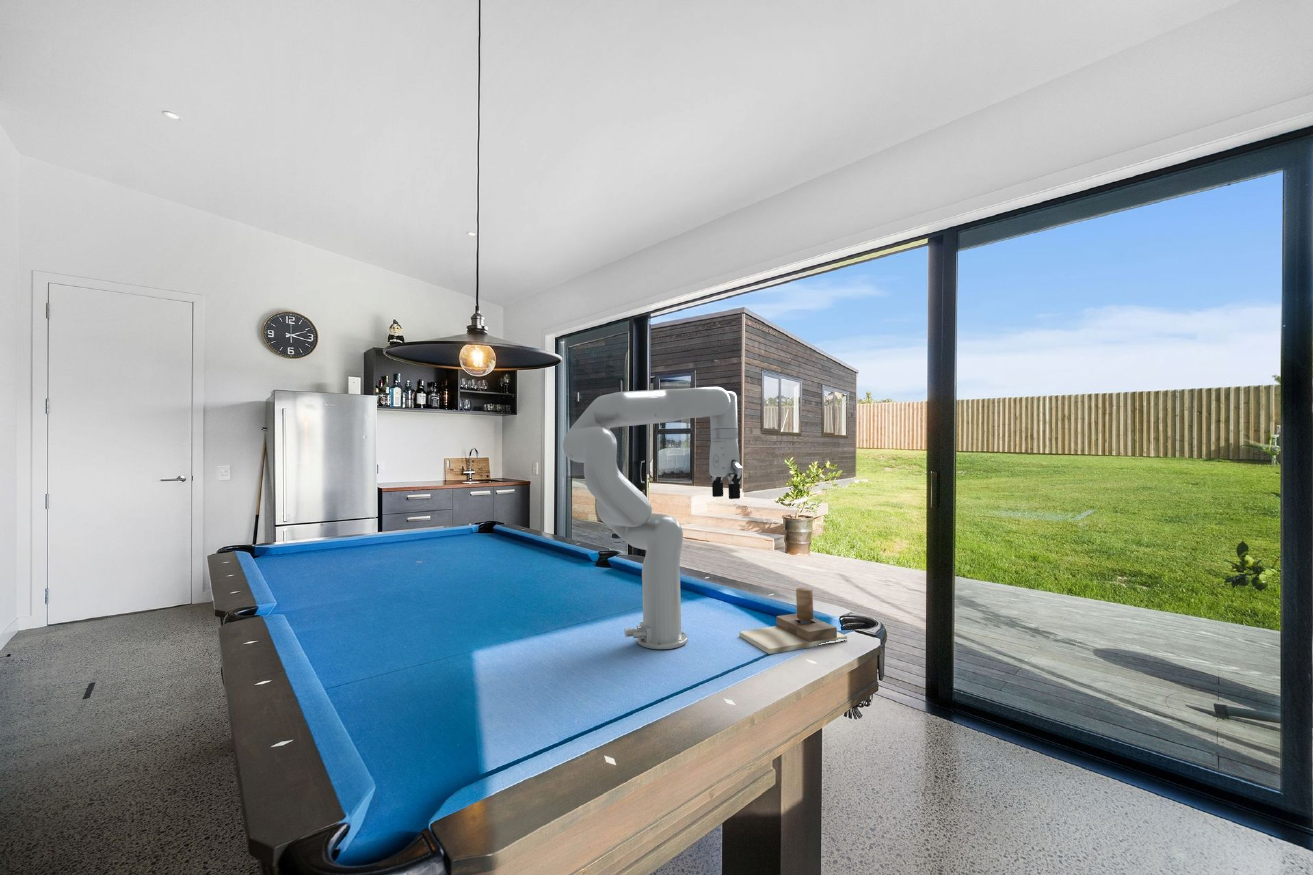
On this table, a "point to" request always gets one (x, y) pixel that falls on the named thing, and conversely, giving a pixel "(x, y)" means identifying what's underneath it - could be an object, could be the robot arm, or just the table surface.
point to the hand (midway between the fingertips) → (725, 497)
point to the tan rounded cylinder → (804, 605)
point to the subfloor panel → (791, 634)
